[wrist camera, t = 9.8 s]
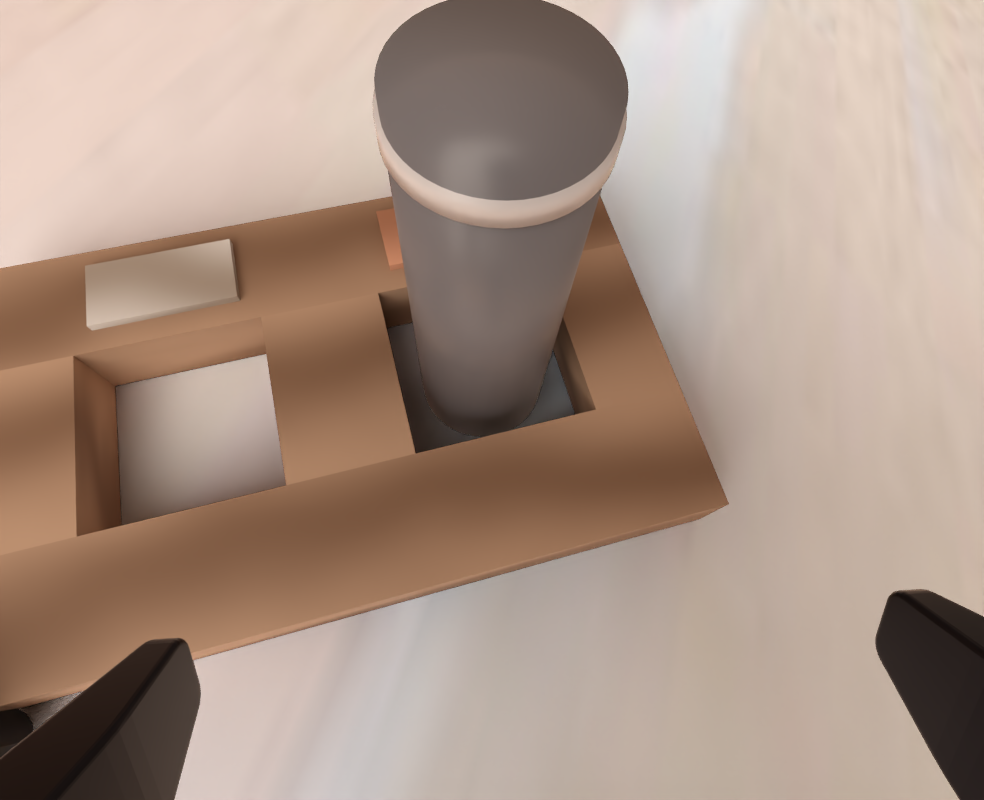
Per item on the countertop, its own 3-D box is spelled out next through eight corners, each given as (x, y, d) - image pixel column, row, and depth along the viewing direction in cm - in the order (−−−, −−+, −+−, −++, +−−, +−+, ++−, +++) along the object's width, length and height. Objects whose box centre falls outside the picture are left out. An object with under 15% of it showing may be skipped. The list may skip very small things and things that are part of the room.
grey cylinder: (566, 400, 22) (687, 116, 10) (461, 462, 21) (456, 228, 9) (500, 308, 24) (538, -39, 12) (398, 362, 23) (321, 42, 10)
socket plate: (699, 518, 21) (732, 501, 18) (22, 707, 18) (-53, 719, 15) (574, 204, 26) (587, 154, 23) (27, 310, 23) (-29, 267, 20)
